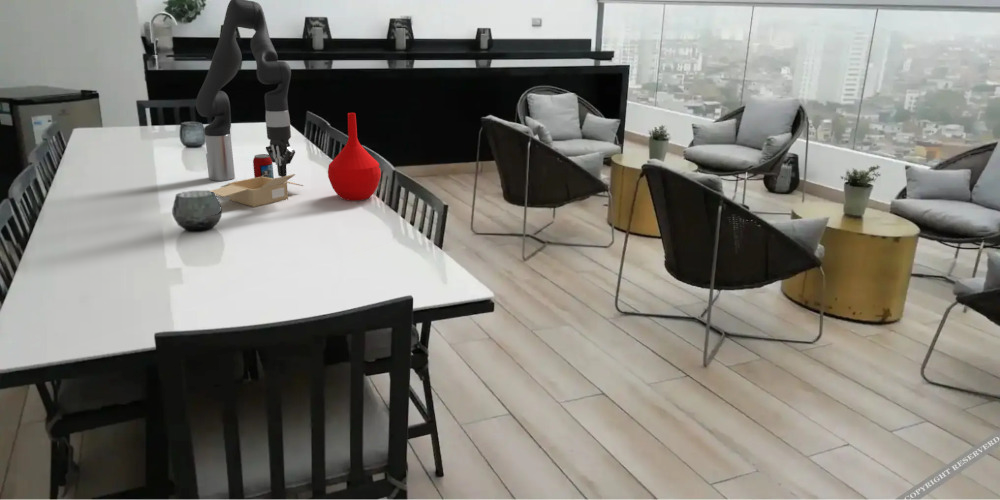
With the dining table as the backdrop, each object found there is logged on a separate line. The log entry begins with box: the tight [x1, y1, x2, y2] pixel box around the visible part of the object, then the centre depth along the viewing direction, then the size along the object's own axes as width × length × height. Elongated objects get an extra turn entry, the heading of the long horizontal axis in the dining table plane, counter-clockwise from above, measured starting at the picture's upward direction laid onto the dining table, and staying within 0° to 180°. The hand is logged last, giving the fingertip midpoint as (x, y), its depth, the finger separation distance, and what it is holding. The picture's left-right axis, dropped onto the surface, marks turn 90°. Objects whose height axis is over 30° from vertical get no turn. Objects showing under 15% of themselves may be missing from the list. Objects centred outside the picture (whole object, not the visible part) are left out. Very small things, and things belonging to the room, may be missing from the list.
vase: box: [327, 112, 382, 202], centre depth 258 cm, size 18×18×30 cm
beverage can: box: [252, 153, 275, 179], centre depth 272 cm, size 7×7×12 cm
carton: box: [219, 176, 304, 208], centre depth 262 cm, size 23×23×6 cm
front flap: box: [260, 173, 296, 189], centre depth 248 cm, size 9×9×1 cm
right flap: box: [209, 185, 247, 198], centre depth 247 cm, size 9×9×1 cm
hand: (282, 176), depth 246 cm, fingers closed
